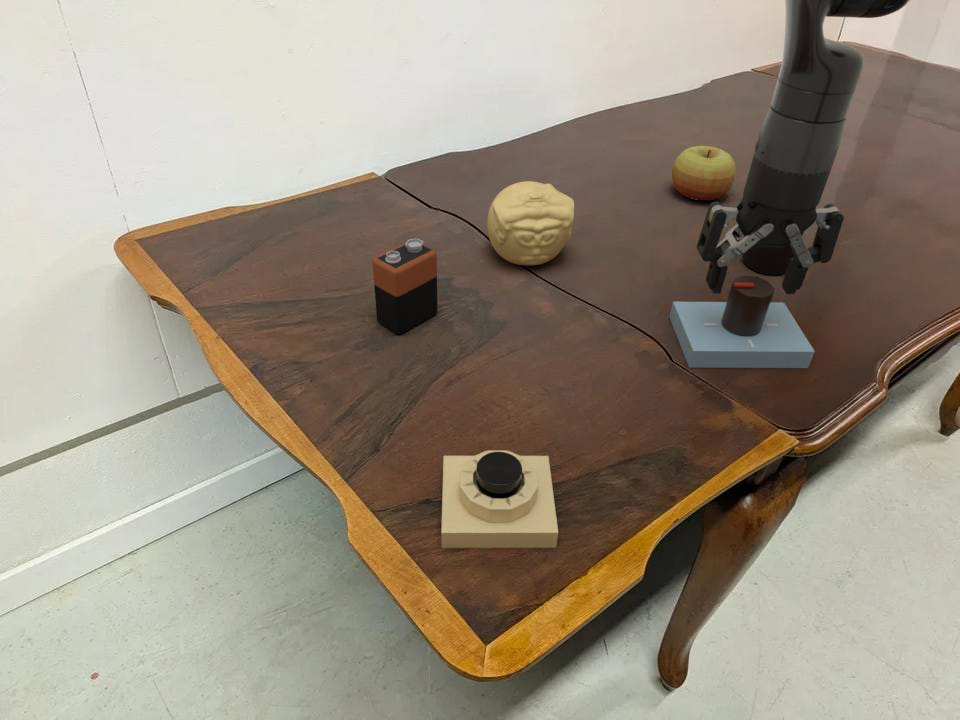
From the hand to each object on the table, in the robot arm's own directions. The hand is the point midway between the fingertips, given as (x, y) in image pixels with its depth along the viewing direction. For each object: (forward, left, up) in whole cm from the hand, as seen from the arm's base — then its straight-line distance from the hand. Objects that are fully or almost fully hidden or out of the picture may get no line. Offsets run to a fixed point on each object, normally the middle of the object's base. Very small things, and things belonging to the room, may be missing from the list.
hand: (751, 290), depth 81 cm
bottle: (-10, -18, -8) cm, 22 cm away
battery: (+40, -4, -8) cm, 41 cm away
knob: (0, 0, -5) cm, 5 cm away
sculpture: (+24, -20, -8) cm, 32 cm away
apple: (-6, -40, -8) cm, 42 cm away
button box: (+30, +26, -7) cm, 40 cm away
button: (+30, +26, -4) cm, 40 cm away
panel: (0, 0, -7) cm, 7 cm away
